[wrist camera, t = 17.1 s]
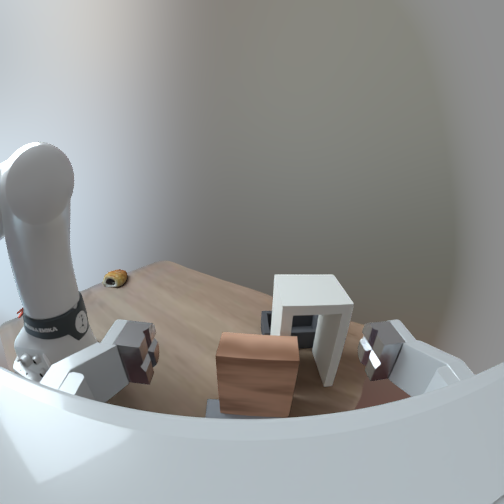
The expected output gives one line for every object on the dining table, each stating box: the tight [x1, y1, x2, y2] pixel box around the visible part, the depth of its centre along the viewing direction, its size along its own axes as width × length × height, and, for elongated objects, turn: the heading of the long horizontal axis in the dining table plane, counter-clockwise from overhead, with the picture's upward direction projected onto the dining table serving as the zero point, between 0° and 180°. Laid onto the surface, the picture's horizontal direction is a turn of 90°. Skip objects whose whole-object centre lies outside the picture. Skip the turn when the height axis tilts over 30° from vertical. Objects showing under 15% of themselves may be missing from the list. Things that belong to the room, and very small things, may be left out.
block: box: [216, 332, 300, 417], centre depth 35 cm, size 5×10×12 cm, turn 86°
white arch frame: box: [270, 275, 354, 387], centre depth 42 cm, size 10×10×16 cm
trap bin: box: [261, 311, 319, 348], centre depth 54 cm, size 12×8×4 cm, turn 92°
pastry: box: [102, 269, 127, 287], centre depth 75 cm, size 9×7×4 cm
